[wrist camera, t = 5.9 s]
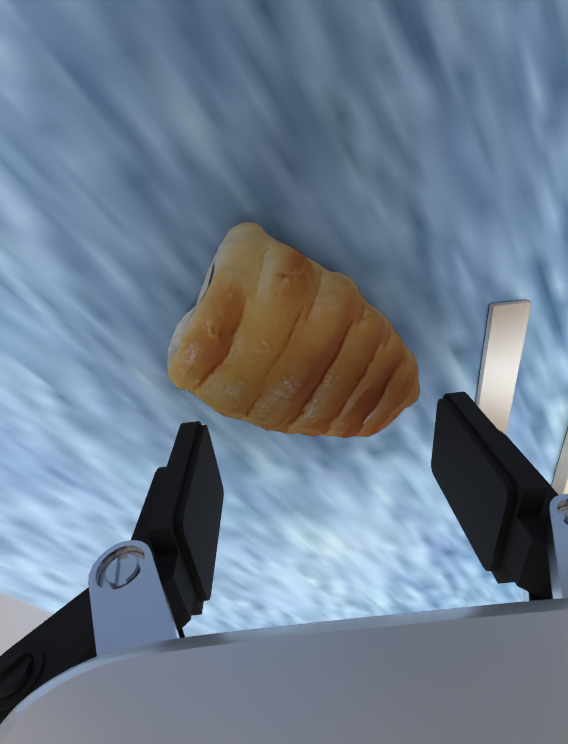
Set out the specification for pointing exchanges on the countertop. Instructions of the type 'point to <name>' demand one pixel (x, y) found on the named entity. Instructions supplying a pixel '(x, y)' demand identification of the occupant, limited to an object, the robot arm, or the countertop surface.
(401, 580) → the countertop surface
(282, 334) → the pastry
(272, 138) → the countertop surface
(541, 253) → the countertop surface
